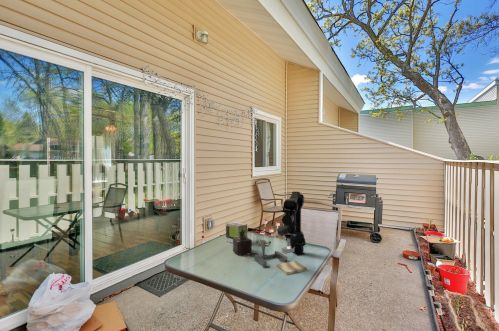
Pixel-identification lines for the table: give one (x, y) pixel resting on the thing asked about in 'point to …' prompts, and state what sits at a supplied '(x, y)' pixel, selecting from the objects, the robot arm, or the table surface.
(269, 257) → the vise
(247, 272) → the table surface
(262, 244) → the mechanical component
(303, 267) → the board
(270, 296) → the table surface
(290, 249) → the brushed metal step block
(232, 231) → the tea box
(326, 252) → the table surface
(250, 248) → the potted plant
